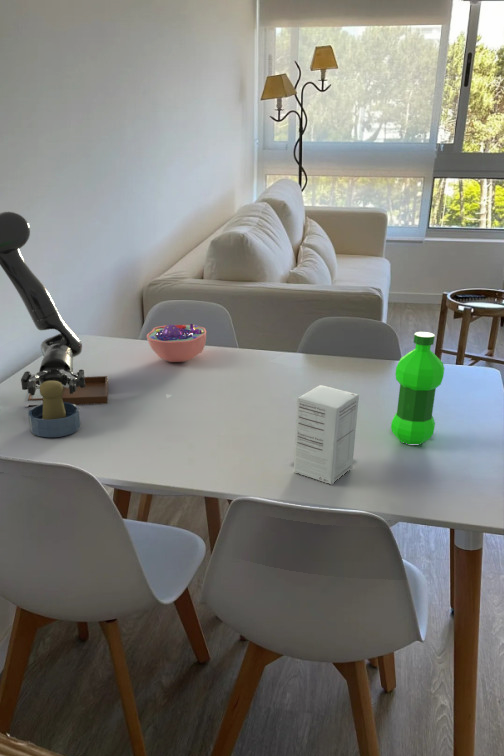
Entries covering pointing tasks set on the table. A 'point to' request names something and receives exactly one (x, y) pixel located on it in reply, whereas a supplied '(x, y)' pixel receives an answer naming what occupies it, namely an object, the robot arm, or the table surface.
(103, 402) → the tray
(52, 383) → the cork
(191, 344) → the cell model
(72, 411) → the bowl
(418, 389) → the plastic bottle
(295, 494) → the table surface
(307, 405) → the supplement box
